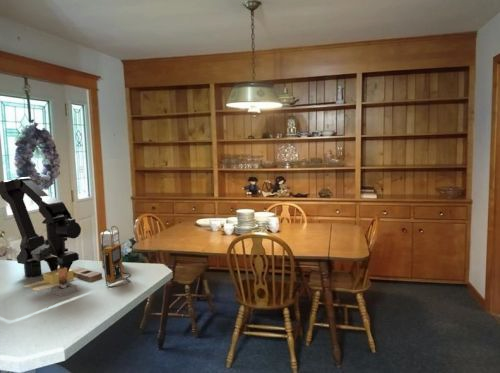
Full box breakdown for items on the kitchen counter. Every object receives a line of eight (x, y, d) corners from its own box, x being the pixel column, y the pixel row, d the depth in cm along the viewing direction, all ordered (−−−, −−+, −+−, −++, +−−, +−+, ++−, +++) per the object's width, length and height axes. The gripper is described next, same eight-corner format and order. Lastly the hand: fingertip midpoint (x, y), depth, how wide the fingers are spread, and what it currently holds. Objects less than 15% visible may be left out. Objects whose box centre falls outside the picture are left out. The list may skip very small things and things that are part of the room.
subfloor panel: (23, 288, 138) (23, 286, 138) (63, 275, 151) (63, 273, 151) (38, 293, 133) (38, 291, 133) (78, 280, 145) (78, 278, 145)
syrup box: (121, 263, 165) (119, 230, 163) (115, 268, 159) (113, 233, 157) (108, 263, 165) (106, 230, 163) (102, 267, 159) (99, 233, 158)
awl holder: (51, 295, 131) (50, 287, 131) (67, 289, 136) (67, 282, 136) (60, 298, 128) (60, 291, 128) (77, 292, 133) (77, 285, 133)
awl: (58, 294, 132) (56, 268, 131) (66, 291, 134) (63, 266, 133) (62, 296, 130) (60, 270, 129) (70, 293, 133) (68, 267, 132)
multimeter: (126, 288, 136) (122, 232, 134) (100, 287, 138) (96, 231, 136) (145, 274, 150) (142, 223, 148) (121, 273, 152) (118, 223, 150)
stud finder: (43, 281, 142) (43, 272, 142) (64, 275, 149) (64, 266, 149) (52, 284, 139) (52, 275, 139) (73, 277, 146) (73, 268, 145)
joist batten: (66, 276, 150) (66, 270, 149) (78, 272, 154) (78, 266, 154) (90, 283, 141) (89, 277, 141) (102, 279, 145) (101, 272, 145)
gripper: (20, 237, 141) (24, 279, 143) (47, 244, 130) (51, 288, 132) (50, 231, 150) (53, 270, 152) (78, 237, 140) (81, 279, 141)
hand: (59, 277), depth 144 cm, fingers closed on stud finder, 6 cm apart
